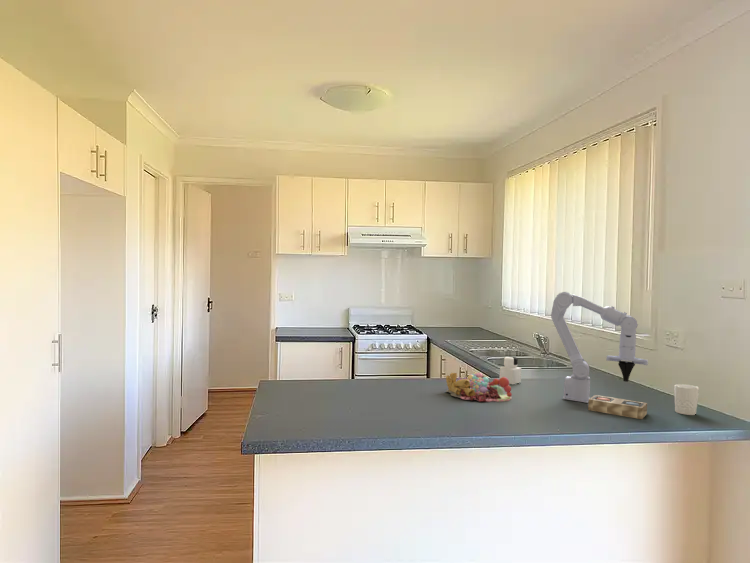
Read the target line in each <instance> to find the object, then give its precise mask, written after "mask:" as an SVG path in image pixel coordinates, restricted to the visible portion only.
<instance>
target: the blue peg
mask: <svg viewBox="0 0 750 563" xmlns="http://www.w3.org/2000/svg"><path fill="white" fill-rule="evenodd" d="M626 404H631V405H637V406H639V404H638V403H634V402H626Z"/></svg>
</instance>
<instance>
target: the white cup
mask: <svg viewBox="0 0 750 563" xmlns="http://www.w3.org/2000/svg"><path fill="white" fill-rule="evenodd" d="M673 388H674V395H673V396H674V412H676V413H677V414H681V415H685V416H696V415H697V408H698V402H699V401H698V400H699V392H700V387H699V386H695V385H692V384H685V383H676V384H674V387H673ZM695 414H696V415H695Z"/></svg>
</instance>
